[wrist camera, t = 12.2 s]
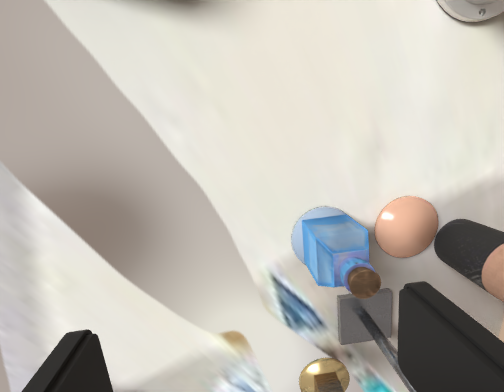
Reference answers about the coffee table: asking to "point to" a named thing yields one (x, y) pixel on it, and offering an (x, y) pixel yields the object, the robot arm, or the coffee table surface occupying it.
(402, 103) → the coffee table surface
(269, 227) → the coffee table surface
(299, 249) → the pale blue dome
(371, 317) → the balance
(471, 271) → the travel mug
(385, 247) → the peach glossy round dome
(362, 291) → the perfume bottle
